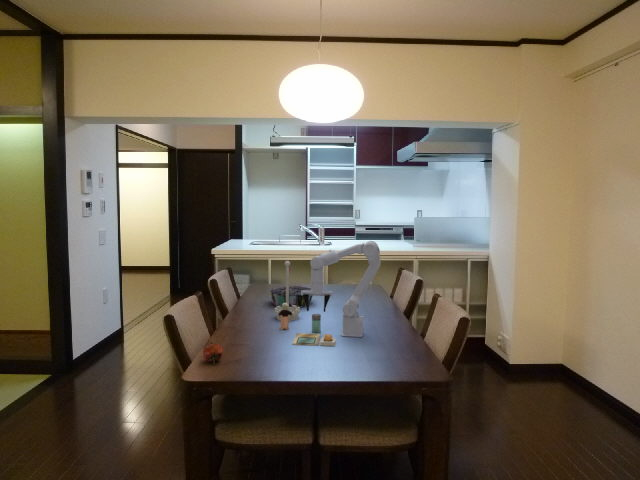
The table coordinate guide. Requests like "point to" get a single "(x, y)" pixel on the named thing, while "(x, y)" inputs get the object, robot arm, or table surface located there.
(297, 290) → the decorative bowl
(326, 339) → the button
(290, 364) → the table surface
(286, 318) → the grandmother figurine
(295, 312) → the flag stand
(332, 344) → the button housing
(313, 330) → the green grey cylinder
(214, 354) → the pomegranate
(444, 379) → the table surface
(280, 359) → the table surface
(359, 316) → the robot arm
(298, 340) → the picture board
